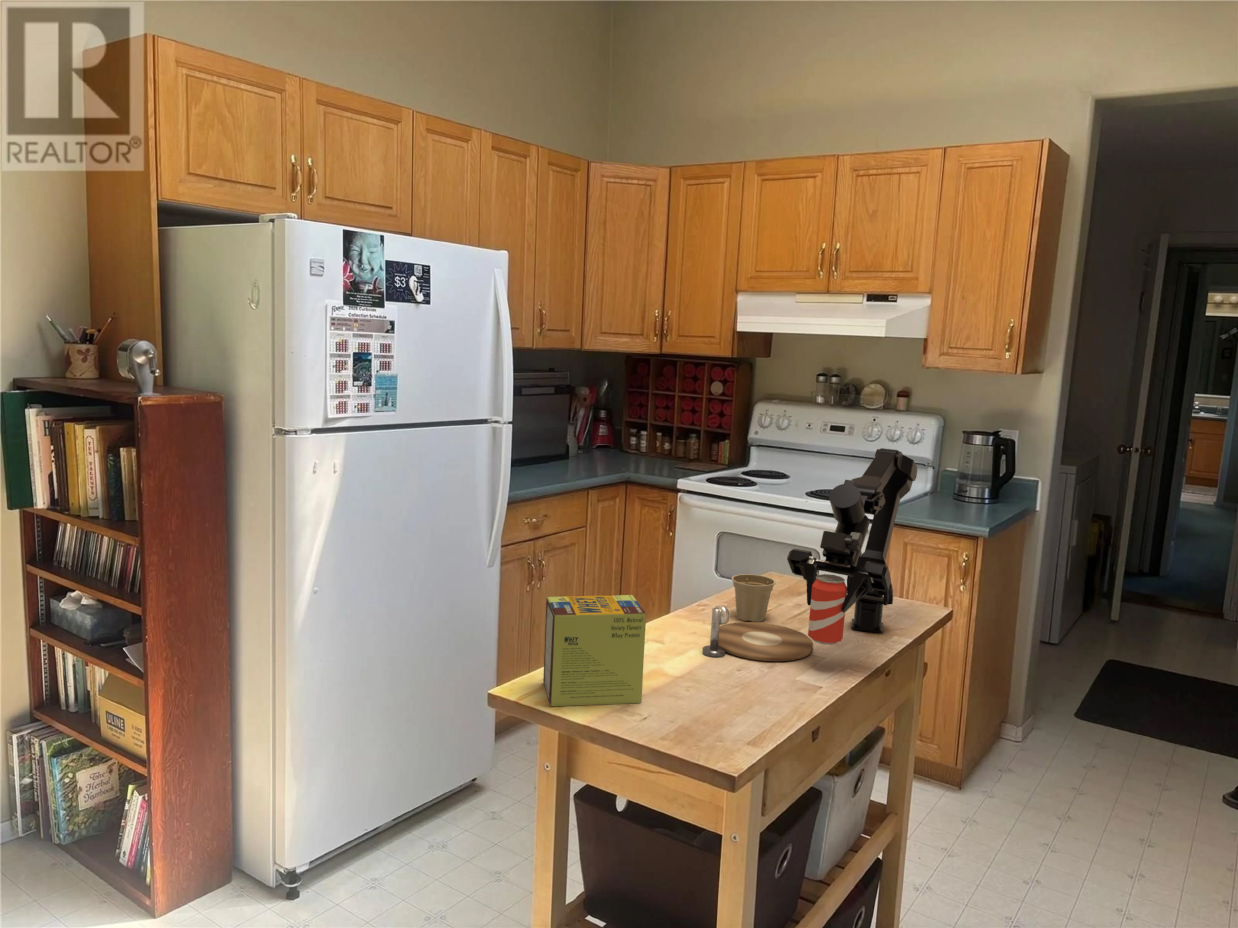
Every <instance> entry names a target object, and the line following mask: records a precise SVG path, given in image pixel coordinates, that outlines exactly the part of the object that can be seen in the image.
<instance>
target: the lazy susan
mask: <svg viewBox="0 0 1238 928" xmlns="http://www.w3.org/2000/svg"><path fill="white" fill-rule="evenodd" d="M718 646H720V647H722V648H724V649H725V653H728V654H730V655H733V656H736V657H740V658H743V659H749V660H755V661H763V662H764V661H765V662H789V661H797V660H800V659H803V658H805V657H807V656H809V655H811V653H812V652H813V649H814V648H813V647H814V642H813V640H812V638H810V637H809V636H808V635H807V634H805V633H803V632H801V631H799V630H797V629H793V628H791V627H787V626H783V625H779V624H773V623H767V622H752V621H740V622H732V623H727V624H723V625H720V630H719V645H718Z"/></svg>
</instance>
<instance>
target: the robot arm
mask: <svg viewBox="0 0 1238 928" xmlns="http://www.w3.org/2000/svg"><path fill="white" fill-rule="evenodd" d="M917 474H918V465H917V464H916V462H915V460H914V459H912V458H910V457H908V456H907V455H905V454H903V452H902V451H899V450H898V449H892V448H877V449H876V450H875V453H874V458H873V459H872V461H870V464H869V465H868V467H867V468H866V470H865V471H864V472H863V474H862V475H861V476H859V477H855V478H852V479H845V480H844V482H843V484H842V483H841V484H839V485H836V486H835V487H834V488H832V489H831V490H830V491H829V494H828V498H829V499H828V500H829V503H830V506H831V510H832V514H833V517H834V519H835V521H837V525H836V527H835V530H834V531H830V530H823V532H822V535H821V536H822V537H821V541H820V546H819V547H820V549H823V550H822V556H823V558H824V557H825V559H824V560H822V559H817V558H816V557H814V556H813V553H812V551H811V550H807V549H800V548H792V549H791V550H790V551H789V552H788V554H787V558H786V560H787V562H788V565H789V568H790V570H791V573H793V575H795V576H800V577H802V578H803V580H805V581H806V603H807V605H808V606H809V607H810V605H811V593H812V585H813V583H814V582H815V580H816V577H817V575H818V572H819V571H821V572H826V573H827V572H828V573H832V574H836V575H840V576H841V575H842V576H847V577H846V586H847V596H846V598H845V600H844V603H843V607H842V612H843V613H845V614H846V612H847V611H849V609H850V608H852V607H853V606H854V613H853V614H854V616H853V618H852V619H851V623H850V624H851V625H850V629H851V630H854V631H861V632H868V633H869V632H870V633H878V634H883V633H884V623H883V621H882V619H883V610H884V609H883V608H884V606H886V607H887V606H888V605H893V604H894V603H893V602H894V588H893V584H892V579H891V578H892V577H891V572H890V569H889V567H888V564H887V561H886V560H887V554H888V551H889V547H890V544H891V543H890V542H891V538H892V534H893V531H894V526H895V522H896V518H897V513H898V510H899V506H900V501H901V500H902V498H904V497H905V496H906V495H907V494H908V493H910V491H911V490H912V489H911V488H912V486H913V482H915V481H916V479H917V476H918V475H917ZM866 514H867V515H872V516H873V518H872V522H870V521H871V520H870V518H869V517H868V516H867V515H866ZM870 524H871V525H870ZM869 527H870V529H869ZM868 532H869V533H868ZM867 534H868V537H867V541H866V546H865V549H864V551H863V552H862V550H863V549H862V548H863V547H864V543H865V540H866V536H867Z"/></svg>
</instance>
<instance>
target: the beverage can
mask: <svg viewBox="0 0 1238 928" xmlns="http://www.w3.org/2000/svg"><path fill="white" fill-rule="evenodd" d="M845 581H846V580H845V578H844V577H843V576H841V575H840V576H839V575H837V574H836V575H835V574H827V573H826V574H825V573H824V574H823V573H822V574H817V577H816V580H815V582H814V583H813V585H812V593H811V605H810V606H809V608H810V609H809V618H808V628H807V629H808V631H807V636H808V637H809V638H810V639H811V640H812V641H814V642H815V643H818V644H820V645H826V646H828V645H829V646H831V645H837V644H838V643H839V642H842V640H843V639H844V638H843V637H844V630H845V629H844V628H845V616H846V612H845V613H843V612H842V607H843V603H844V600H845V598H846V596H847V583H846V582H845Z"/></svg>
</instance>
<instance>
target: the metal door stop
mask: <svg viewBox="0 0 1238 928" xmlns="http://www.w3.org/2000/svg"><path fill="white" fill-rule="evenodd" d="M729 621H730V612H729V609H728V607H727V606H726V605H715V607H713V608H712V611H711V624H710V625H711V626H710V627H711V628H710V641H709V644H708V645H705V646H703V647H702V651H701V653H702V654H703V655H704V656H706V657H710V658H722V657H725V656H726V652H725V649H724V648H722V647H720V646H718V645H719V630H720V626H722V625H725V624H729Z"/></svg>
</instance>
